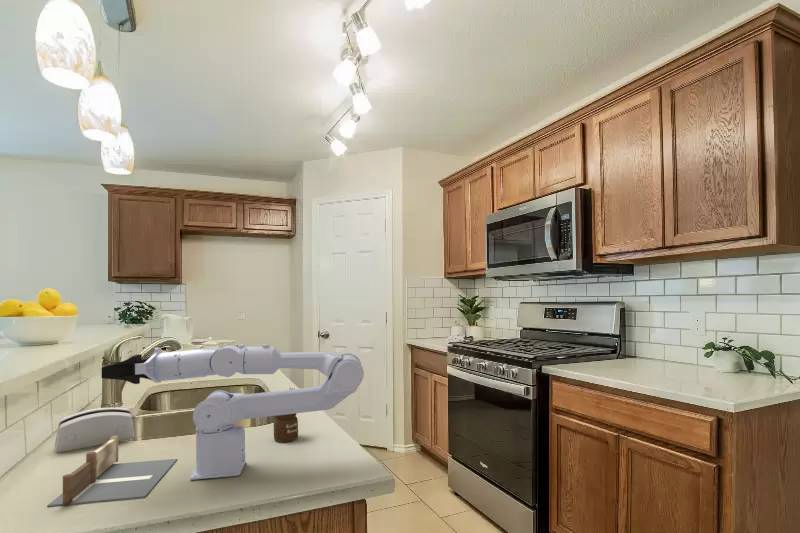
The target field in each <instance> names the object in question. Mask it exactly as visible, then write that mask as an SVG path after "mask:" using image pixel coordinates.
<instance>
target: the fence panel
mask: <svg viewBox="0 0 800 533" xmlns="http://www.w3.org/2000/svg"><path fill="white" fill-rule="evenodd" d="M93 452H96V477H98V476H99V475H100V474H101V473H103V472H104V471H105V470H106V469H107V468H109V467H110V466H111V465H112V464H116V463H117V462H119V441H118V436H117V435H116V436H112V437H111V440H109V441H108V442H107V443H105V444H101V445H100V446H99V447H98V448H97V449H95V450H94V451H93Z"/></svg>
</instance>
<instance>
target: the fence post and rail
mask: <svg viewBox="0 0 800 533" xmlns="http://www.w3.org/2000/svg"><path fill="white" fill-rule="evenodd" d="M85 455H86V456H85V462H84V463H83V464H81V465H80V466H79V467H78V468H76V469H75V470H74V471H72V472H71V473H68V474H64V475H62V493H63V505H62V506H63V507H66V506H71V505H70V503H71V502H72V499H73V498H74V497H75V496H76V495H78V494H79V493H80V492H81V491H82V490H84V489H85V488H86V487H87V486H88V485H89V484H92V483H94V482H96V452H94V451H89V452H87V453H86V454H85Z"/></svg>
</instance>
